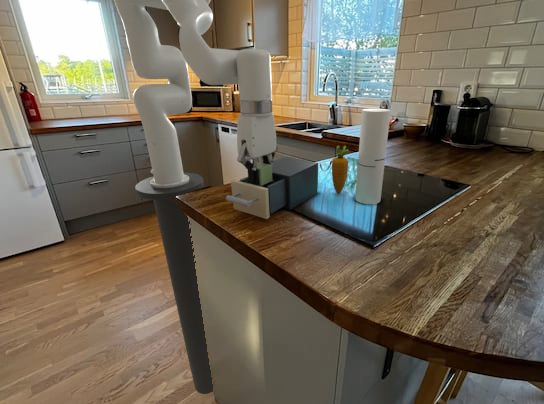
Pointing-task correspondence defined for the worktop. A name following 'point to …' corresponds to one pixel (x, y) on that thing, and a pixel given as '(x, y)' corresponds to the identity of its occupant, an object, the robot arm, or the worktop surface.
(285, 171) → the cabinet
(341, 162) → the carrot
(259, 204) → the drawer
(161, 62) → the robot arm
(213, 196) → the worktop surface
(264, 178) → the block
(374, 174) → the cylindrical container
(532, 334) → the worktop surface
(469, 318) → the worktop surface
